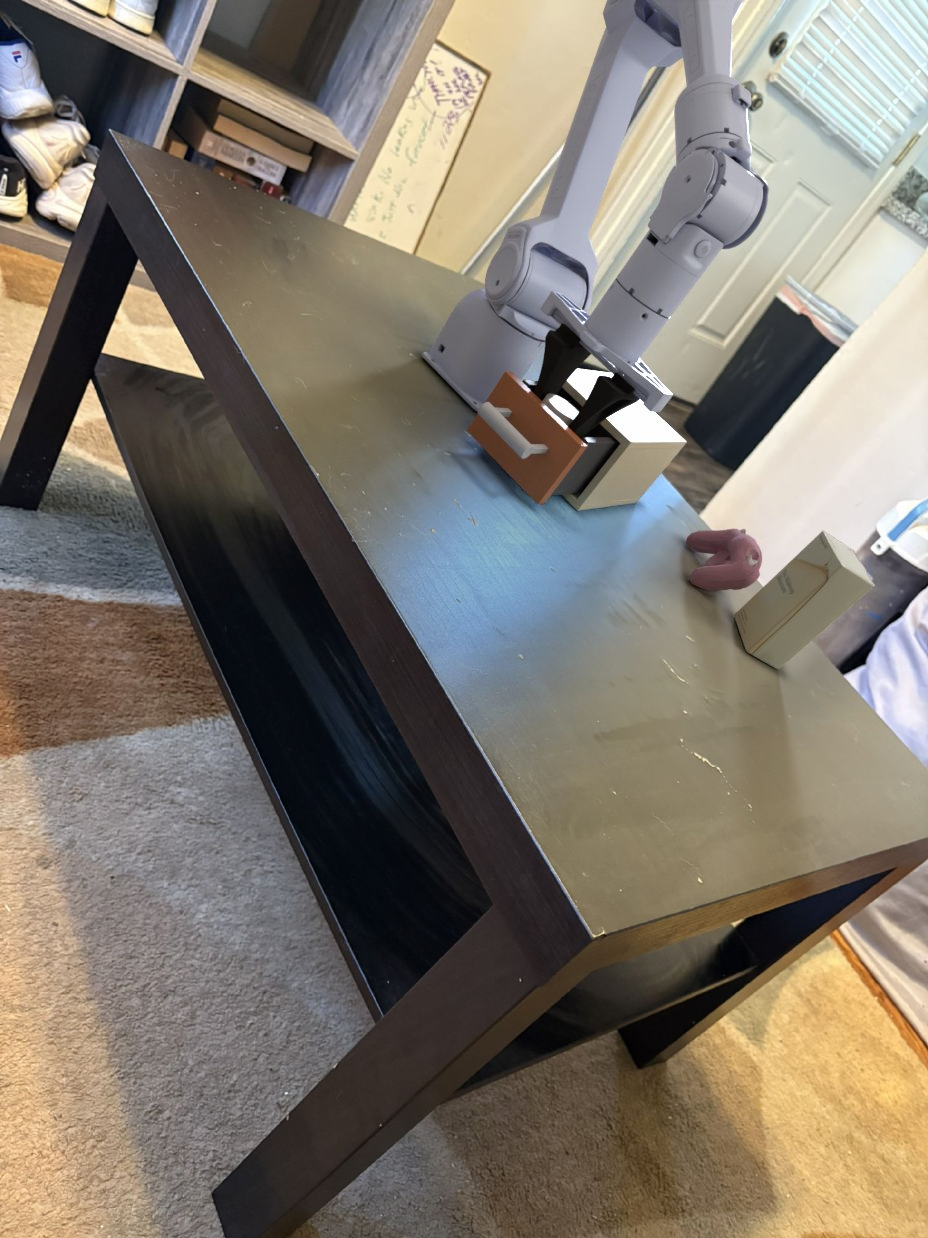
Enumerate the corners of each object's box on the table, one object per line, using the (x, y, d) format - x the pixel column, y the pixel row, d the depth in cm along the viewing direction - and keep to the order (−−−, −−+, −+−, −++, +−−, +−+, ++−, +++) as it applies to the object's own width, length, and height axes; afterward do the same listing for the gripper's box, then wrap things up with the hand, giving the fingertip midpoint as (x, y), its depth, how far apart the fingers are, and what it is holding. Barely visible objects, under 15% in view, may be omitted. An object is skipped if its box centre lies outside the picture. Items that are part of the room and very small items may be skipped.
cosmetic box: (731, 615, 88) (820, 526, 82) (765, 633, 90) (854, 548, 83) (746, 654, 83) (841, 563, 77) (781, 673, 84) (877, 585, 78)
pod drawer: (512, 507, 76) (557, 446, 72) (439, 430, 79) (478, 367, 76) (601, 497, 89) (642, 445, 86) (534, 431, 92) (572, 378, 89)
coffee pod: (518, 422, 81) (539, 392, 79) (540, 423, 84) (561, 393, 82) (546, 451, 80) (568, 420, 78) (567, 450, 83) (589, 421, 81)
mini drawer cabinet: (577, 511, 86) (631, 442, 81) (501, 434, 89) (549, 364, 85) (636, 503, 96) (687, 441, 92) (567, 434, 100) (612, 372, 96)
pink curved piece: (705, 612, 89) (772, 585, 86) (686, 576, 87) (754, 548, 85) (699, 567, 97) (761, 541, 95) (682, 534, 96) (744, 507, 93)
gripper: (563, 239, 73) (478, 373, 80) (684, 346, 69) (583, 478, 76) (602, 253, 79) (519, 377, 86) (716, 353, 74) (619, 475, 81)
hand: (551, 424), depth 81 cm, fingers closed on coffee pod, 4 cm apart
